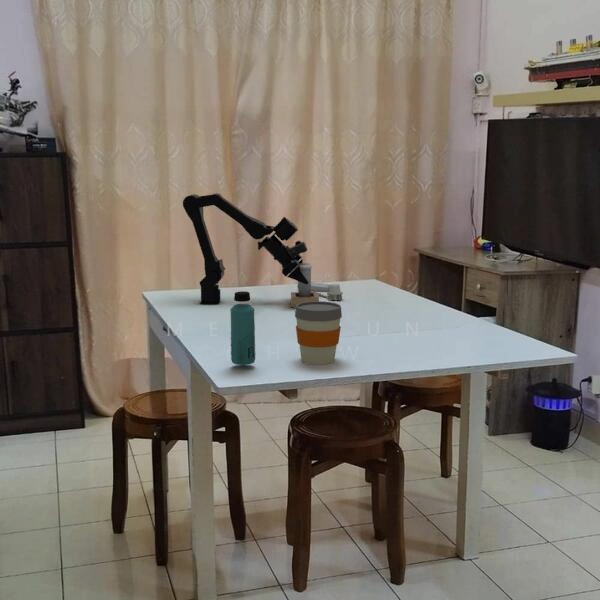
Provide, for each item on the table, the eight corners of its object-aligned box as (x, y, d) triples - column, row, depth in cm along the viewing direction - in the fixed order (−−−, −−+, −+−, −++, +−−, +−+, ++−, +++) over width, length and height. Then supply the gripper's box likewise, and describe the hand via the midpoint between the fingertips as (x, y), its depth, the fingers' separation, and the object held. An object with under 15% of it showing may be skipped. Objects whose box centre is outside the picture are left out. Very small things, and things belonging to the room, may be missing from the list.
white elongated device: (306, 280, 314) (344, 281, 293) (307, 297, 314) (346, 299, 293) (295, 281, 311) (333, 282, 290) (296, 298, 311) (334, 300, 291)
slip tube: (302, 304, 282) (302, 265, 280) (294, 302, 287) (294, 263, 284) (314, 303, 285) (314, 264, 282) (306, 301, 289) (306, 262, 287)
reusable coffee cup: (296, 367, 209) (296, 311, 206) (292, 354, 221) (293, 301, 218) (344, 366, 210) (345, 310, 207) (337, 353, 222) (338, 300, 219)
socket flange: (291, 307, 281) (291, 297, 280) (290, 301, 291) (290, 292, 290) (319, 307, 281) (319, 297, 280) (317, 301, 291) (317, 292, 290)
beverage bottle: (249, 371, 204) (248, 295, 200) (226, 368, 207) (225, 293, 203) (259, 365, 210) (259, 290, 206) (237, 362, 213) (236, 288, 209)
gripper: (291, 237, 272) (323, 270, 273) (296, 231, 290) (326, 261, 292) (268, 259, 274) (300, 292, 276) (274, 252, 292) (304, 282, 294)
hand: (308, 281), depth 284 cm, fingers open, 9 cm apart
